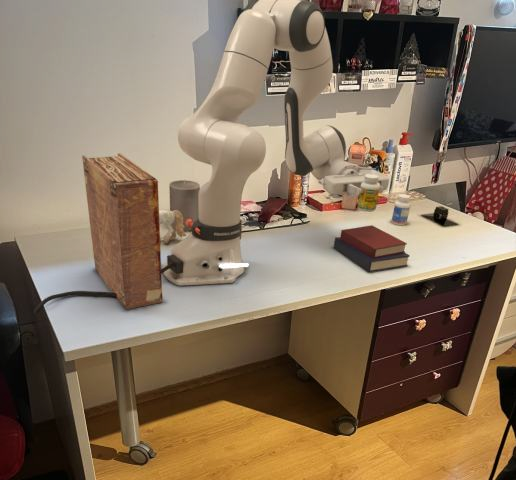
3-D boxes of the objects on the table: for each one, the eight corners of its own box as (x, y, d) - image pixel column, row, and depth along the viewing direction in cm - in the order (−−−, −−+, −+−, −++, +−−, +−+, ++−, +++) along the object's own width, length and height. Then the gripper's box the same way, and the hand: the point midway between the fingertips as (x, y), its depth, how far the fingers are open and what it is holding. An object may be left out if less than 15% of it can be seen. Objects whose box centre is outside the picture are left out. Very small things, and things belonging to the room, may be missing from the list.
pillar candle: (173, 220, 180) (171, 175, 172) (201, 222, 180) (201, 177, 172) (167, 230, 172) (166, 183, 164) (198, 232, 172) (197, 185, 164)
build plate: (458, 225, 193) (461, 212, 190) (443, 227, 190) (446, 214, 187) (435, 213, 202) (438, 201, 200) (420, 215, 199) (422, 203, 197)
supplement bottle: (370, 205, 158) (376, 173, 153) (378, 211, 154) (384, 178, 149) (354, 206, 157) (359, 173, 152) (361, 212, 153) (367, 178, 147)
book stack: (368, 272, 153) (372, 251, 149) (333, 248, 167) (336, 228, 164) (407, 266, 158) (412, 245, 155) (370, 243, 172) (373, 223, 169)
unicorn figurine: (118, 241, 162) (114, 198, 154) (179, 234, 169) (178, 192, 162) (124, 250, 156) (120, 205, 149) (187, 242, 164) (186, 199, 157)
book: (95, 269, 144) (81, 154, 128) (128, 263, 149) (119, 152, 132) (126, 310, 126) (115, 183, 110) (163, 302, 131) (157, 179, 114)
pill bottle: (388, 220, 192) (393, 193, 187) (401, 219, 194) (407, 193, 189) (396, 225, 188) (401, 198, 183) (409, 225, 190) (415, 197, 184)
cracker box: (356, 210, 200) (365, 153, 189) (340, 209, 201) (348, 151, 189) (358, 200, 211) (366, 145, 200) (342, 198, 212) (350, 143, 201)
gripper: (316, 169, 156) (342, 182, 146) (373, 165, 164) (401, 177, 154) (314, 190, 160) (339, 205, 150) (370, 186, 168) (397, 199, 157)
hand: (371, 191), depth 152 cm, fingers closed on supplement bottle, 5 cm apart
